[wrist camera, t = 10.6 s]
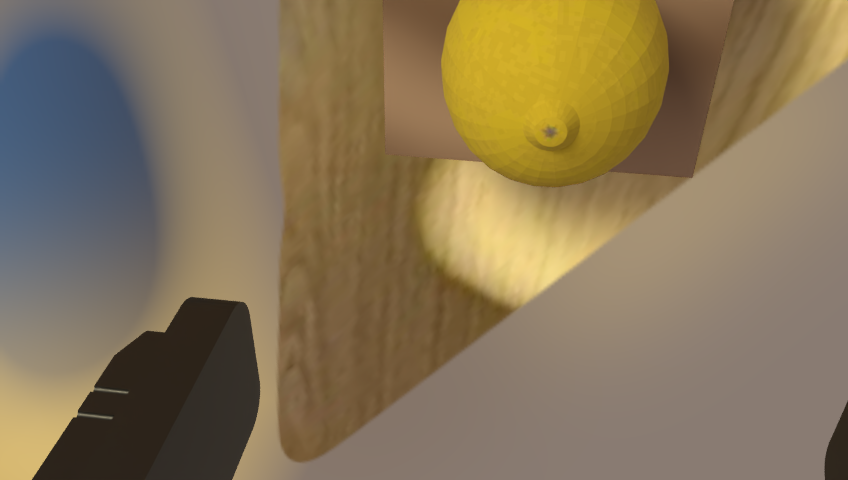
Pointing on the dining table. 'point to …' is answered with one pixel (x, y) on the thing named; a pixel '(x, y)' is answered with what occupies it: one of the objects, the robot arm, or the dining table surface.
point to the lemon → (554, 84)
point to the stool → (438, 138)
